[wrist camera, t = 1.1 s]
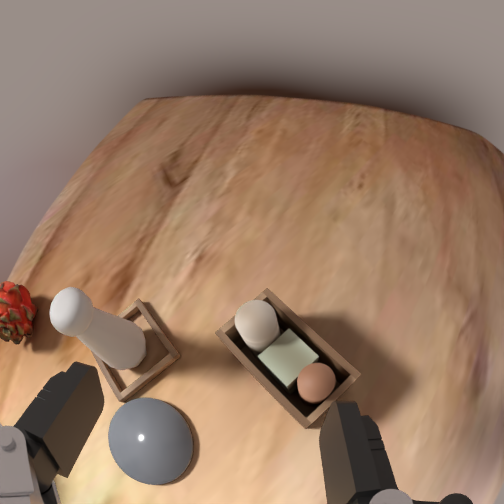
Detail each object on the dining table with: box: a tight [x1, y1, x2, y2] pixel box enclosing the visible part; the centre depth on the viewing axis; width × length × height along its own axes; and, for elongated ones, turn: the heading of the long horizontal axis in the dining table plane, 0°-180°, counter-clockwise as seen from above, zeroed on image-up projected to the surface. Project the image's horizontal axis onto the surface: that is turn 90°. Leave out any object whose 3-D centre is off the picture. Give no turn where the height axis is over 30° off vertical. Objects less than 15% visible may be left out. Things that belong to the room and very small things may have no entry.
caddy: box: [215, 288, 361, 429], centre depth 26 cm, size 6×11×9 cm, turn 41°
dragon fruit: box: [0, 281, 38, 344], centre depth 35 cm, size 8×8×12 cm
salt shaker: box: [50, 287, 147, 370], centre depth 28 cm, size 6×6×13 cm
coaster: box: [108, 398, 193, 485], centre depth 27 cm, size 10×10×1 cm
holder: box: [92, 299, 181, 402], centre depth 33 cm, size 9×9×1 cm
